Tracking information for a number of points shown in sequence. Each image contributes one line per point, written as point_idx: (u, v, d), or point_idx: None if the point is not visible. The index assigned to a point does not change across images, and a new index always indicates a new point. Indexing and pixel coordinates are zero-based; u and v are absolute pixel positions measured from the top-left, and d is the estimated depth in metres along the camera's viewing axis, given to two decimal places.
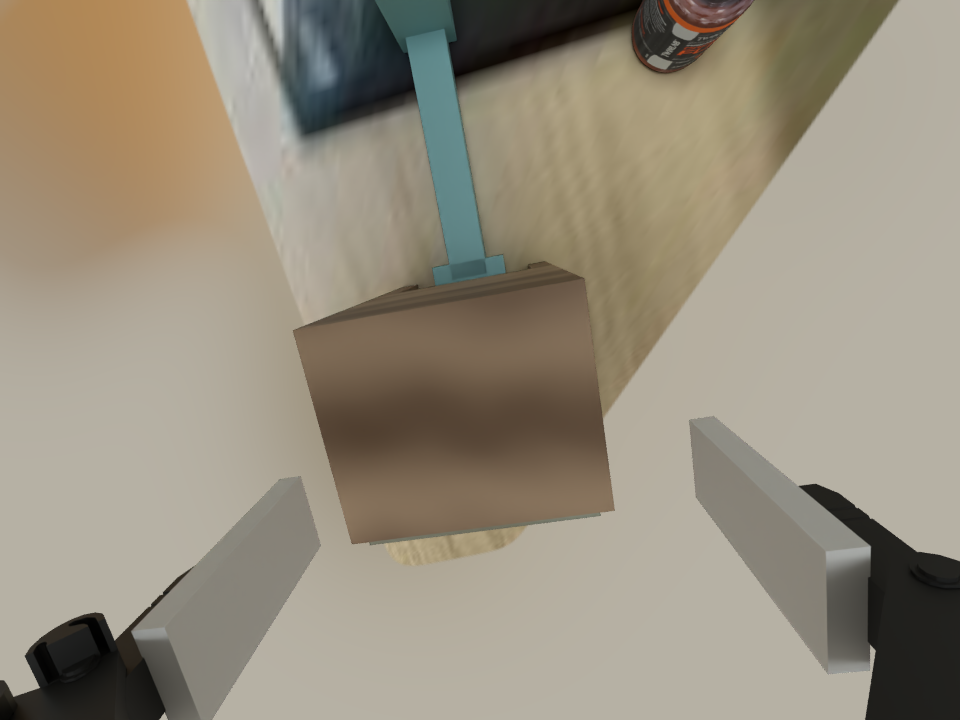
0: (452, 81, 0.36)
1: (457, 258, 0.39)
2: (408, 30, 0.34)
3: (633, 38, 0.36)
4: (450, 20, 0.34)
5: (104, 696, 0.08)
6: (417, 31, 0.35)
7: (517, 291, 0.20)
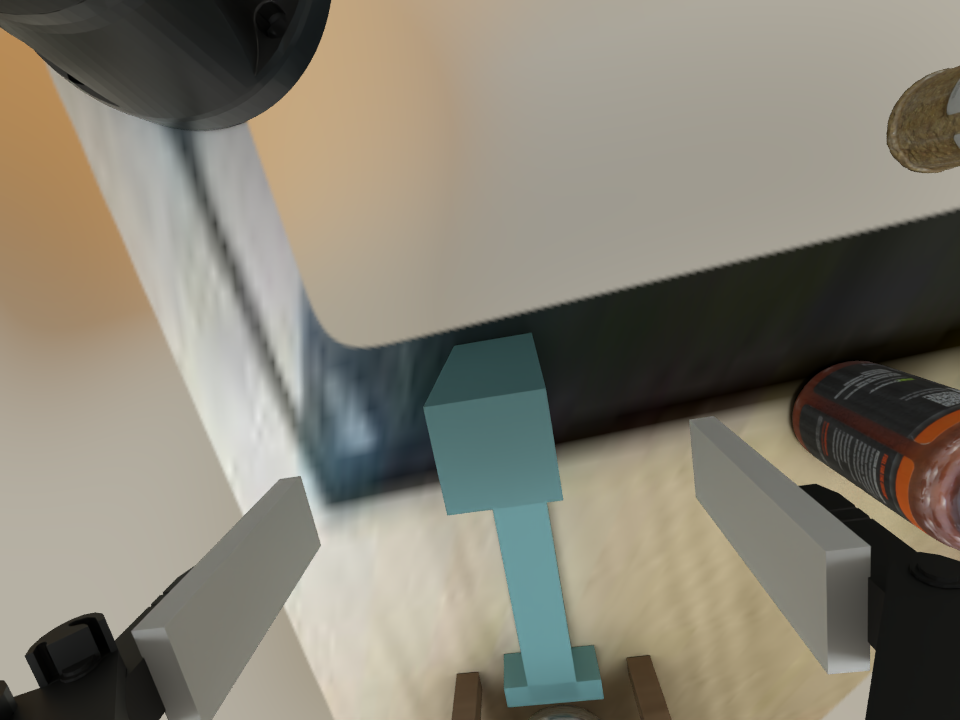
0: None
1: (539, 680, 0.29)
2: None
3: (796, 425, 0.26)
4: None
5: (104, 696, 0.08)
6: None
7: None
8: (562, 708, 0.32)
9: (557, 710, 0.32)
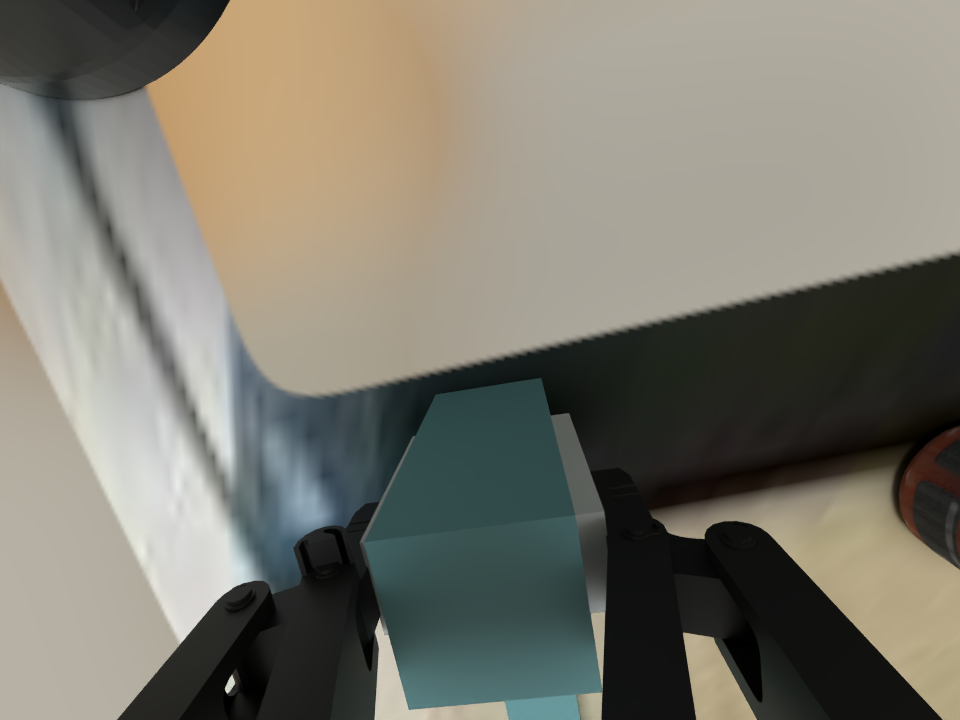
0: None
1: None
2: None
3: (907, 506, 0.19)
4: None
5: (340, 603, 0.10)
6: None
7: None
8: None
9: None
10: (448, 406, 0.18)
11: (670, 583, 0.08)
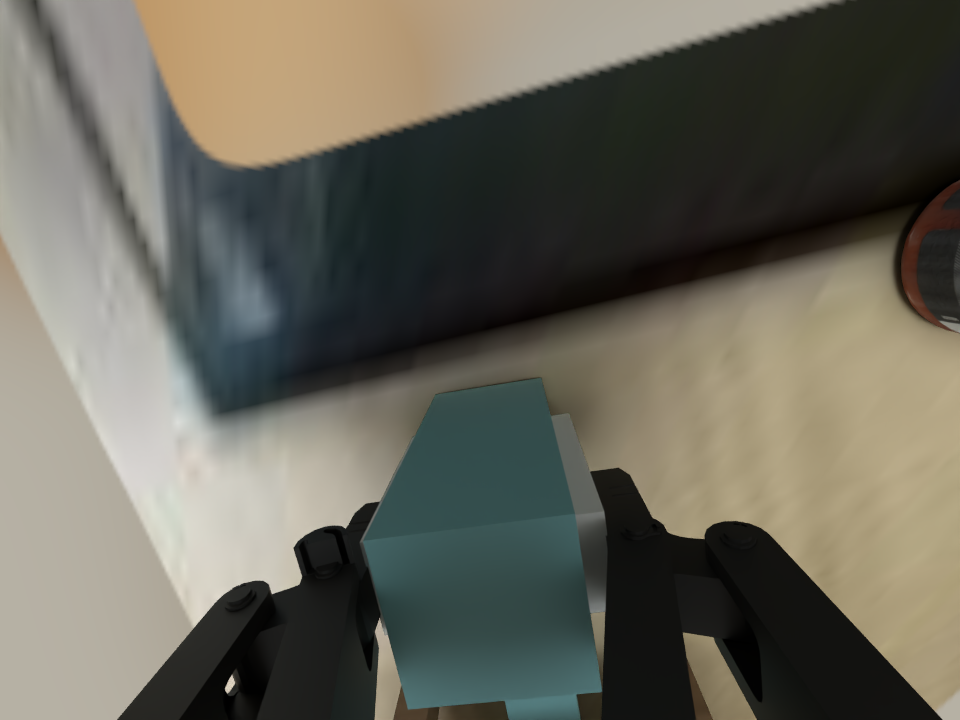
0: None
1: None
2: None
3: (910, 271, 0.17)
4: None
5: (340, 603, 0.10)
6: None
7: None
8: None
9: None
10: (448, 406, 0.18)
11: (670, 583, 0.08)
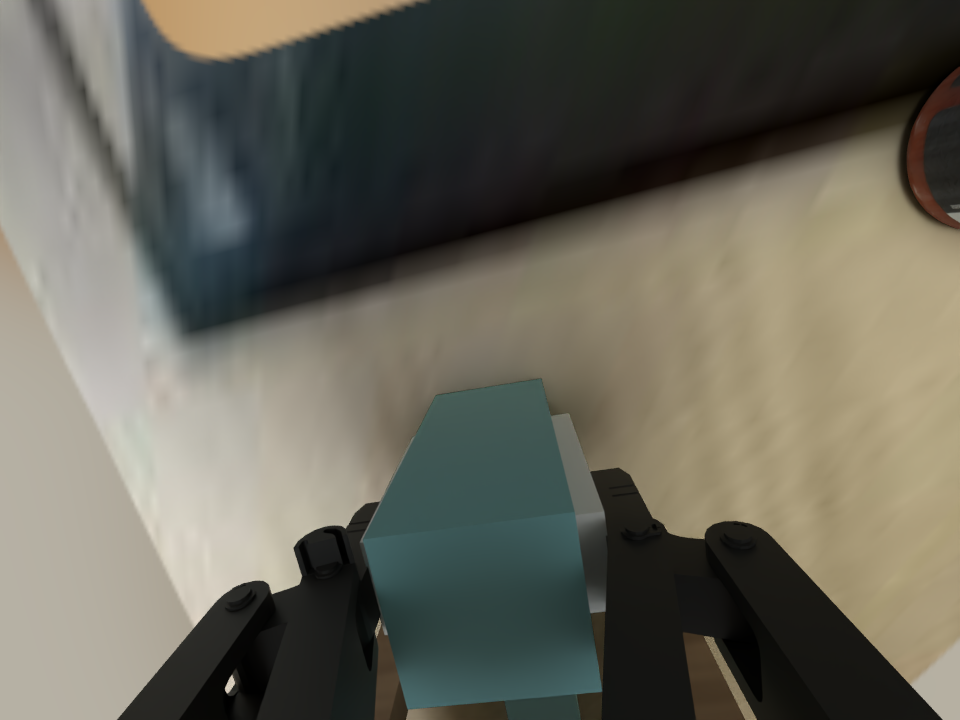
0: None
1: None
2: None
3: (916, 161, 0.16)
4: None
5: (340, 603, 0.10)
6: None
7: None
8: None
9: None
10: (448, 406, 0.18)
11: (670, 583, 0.08)
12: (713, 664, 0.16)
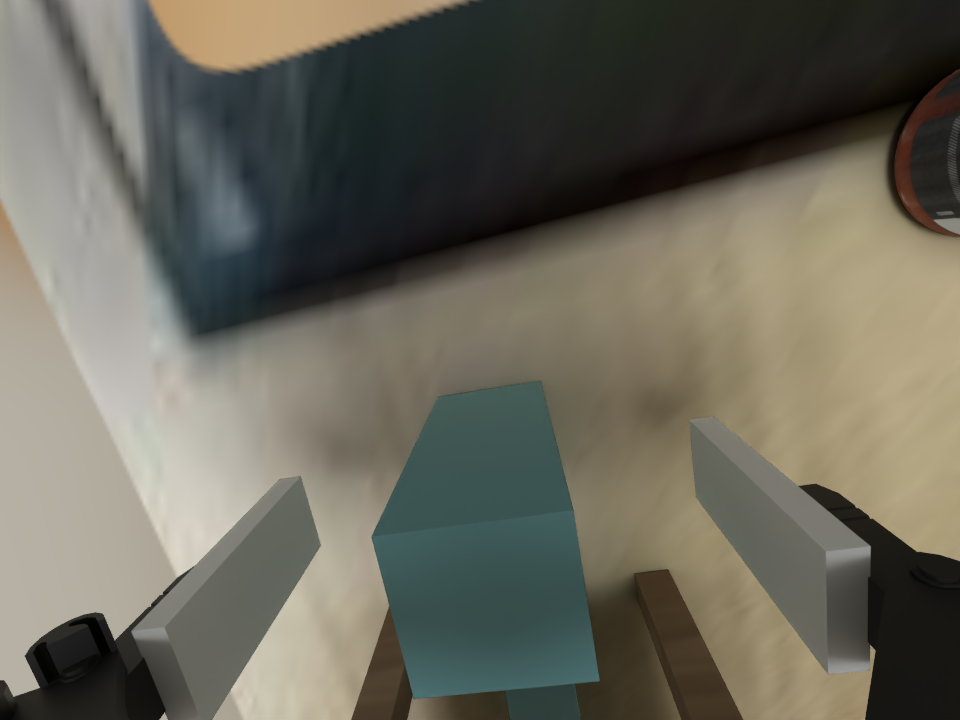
0: None
1: None
2: None
3: (903, 169, 0.16)
4: None
5: (104, 696, 0.08)
6: None
7: None
8: None
9: None
10: (450, 408, 0.18)
11: None
12: (708, 658, 0.17)
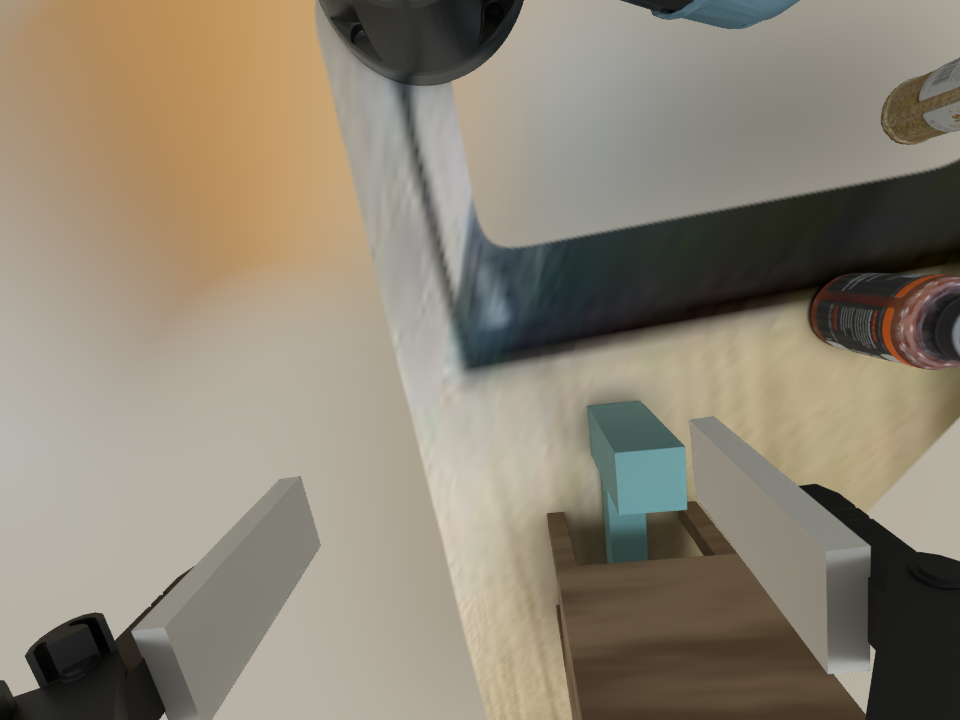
0: None
1: None
2: None
3: (813, 317, 0.37)
4: None
5: (104, 696, 0.08)
6: None
7: None
8: None
9: None
10: (601, 411, 0.38)
11: None
12: (718, 531, 0.37)
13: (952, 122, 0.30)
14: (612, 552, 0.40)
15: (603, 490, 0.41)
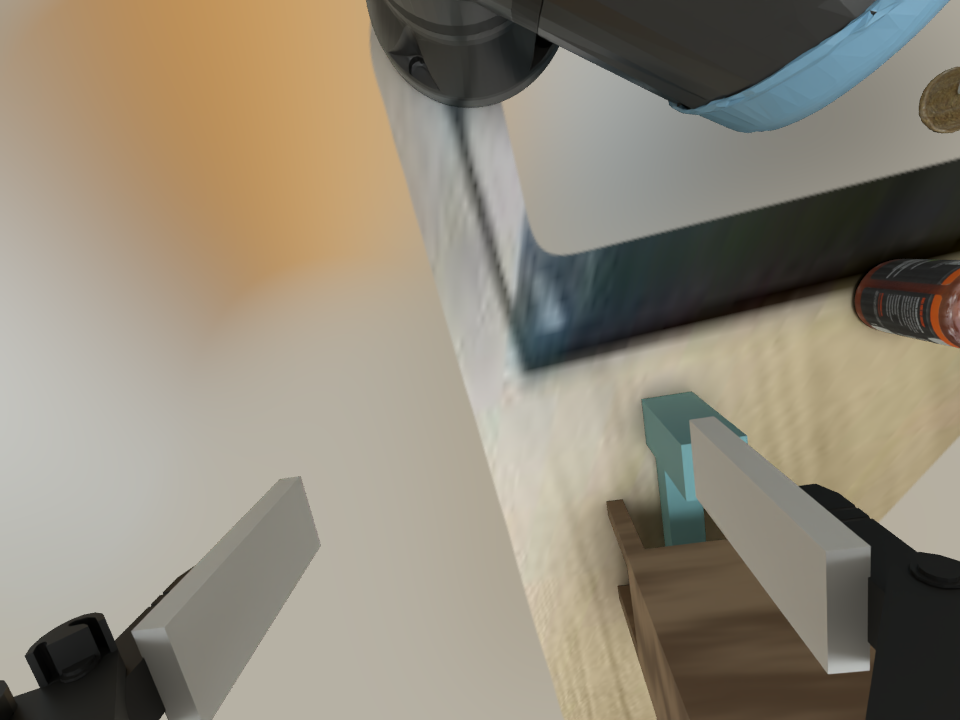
0: None
1: None
2: None
3: (858, 303, 0.38)
4: None
5: (104, 696, 0.08)
6: None
7: None
8: None
9: None
10: (656, 404, 0.40)
11: None
12: None
13: None
14: (671, 534, 0.42)
15: (659, 477, 0.43)
